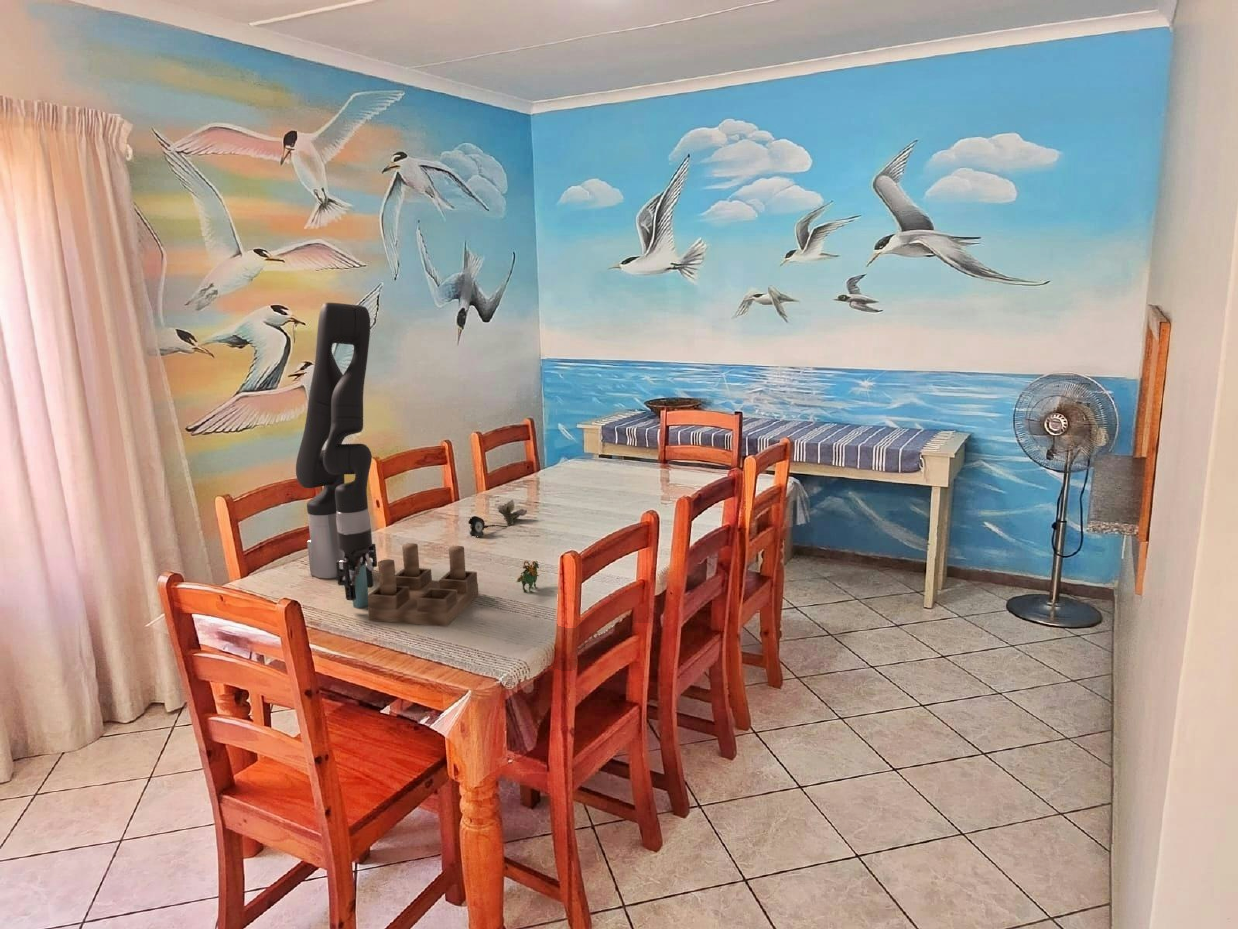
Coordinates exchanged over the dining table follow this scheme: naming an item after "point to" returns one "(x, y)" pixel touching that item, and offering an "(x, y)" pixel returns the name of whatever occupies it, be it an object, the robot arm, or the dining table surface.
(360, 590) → the loose leg
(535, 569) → the figurine
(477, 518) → the artificial flower
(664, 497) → the dining table surface
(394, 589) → the stool seat
